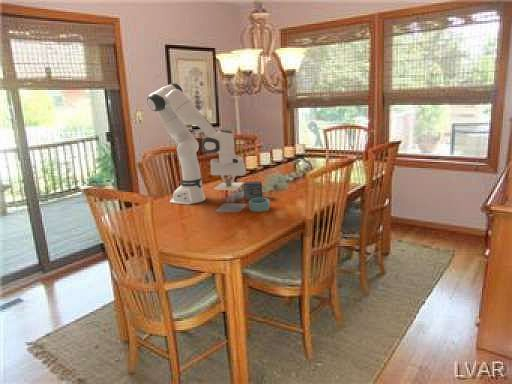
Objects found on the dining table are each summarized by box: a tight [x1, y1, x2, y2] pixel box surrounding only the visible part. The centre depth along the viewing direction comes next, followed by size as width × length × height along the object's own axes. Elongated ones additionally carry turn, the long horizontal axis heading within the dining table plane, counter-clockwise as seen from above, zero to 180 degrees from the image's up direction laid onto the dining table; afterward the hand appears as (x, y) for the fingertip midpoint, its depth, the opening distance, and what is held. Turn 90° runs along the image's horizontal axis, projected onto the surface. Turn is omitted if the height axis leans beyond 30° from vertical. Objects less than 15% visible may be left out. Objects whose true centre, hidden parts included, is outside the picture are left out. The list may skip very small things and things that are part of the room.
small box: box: [243, 180, 264, 201], centre depth 243 cm, size 11×6×10 cm, turn 84°
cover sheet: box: [213, 177, 244, 191], centre depth 225 cm, size 13×13×5 cm
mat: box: [214, 203, 248, 213], centre depth 229 cm, size 15×15×1 cm
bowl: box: [248, 197, 271, 213], centre depth 224 cm, size 11×11×5 cm
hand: (228, 182), depth 225 cm, fingers closed on cover sheet, 3 cm apart
